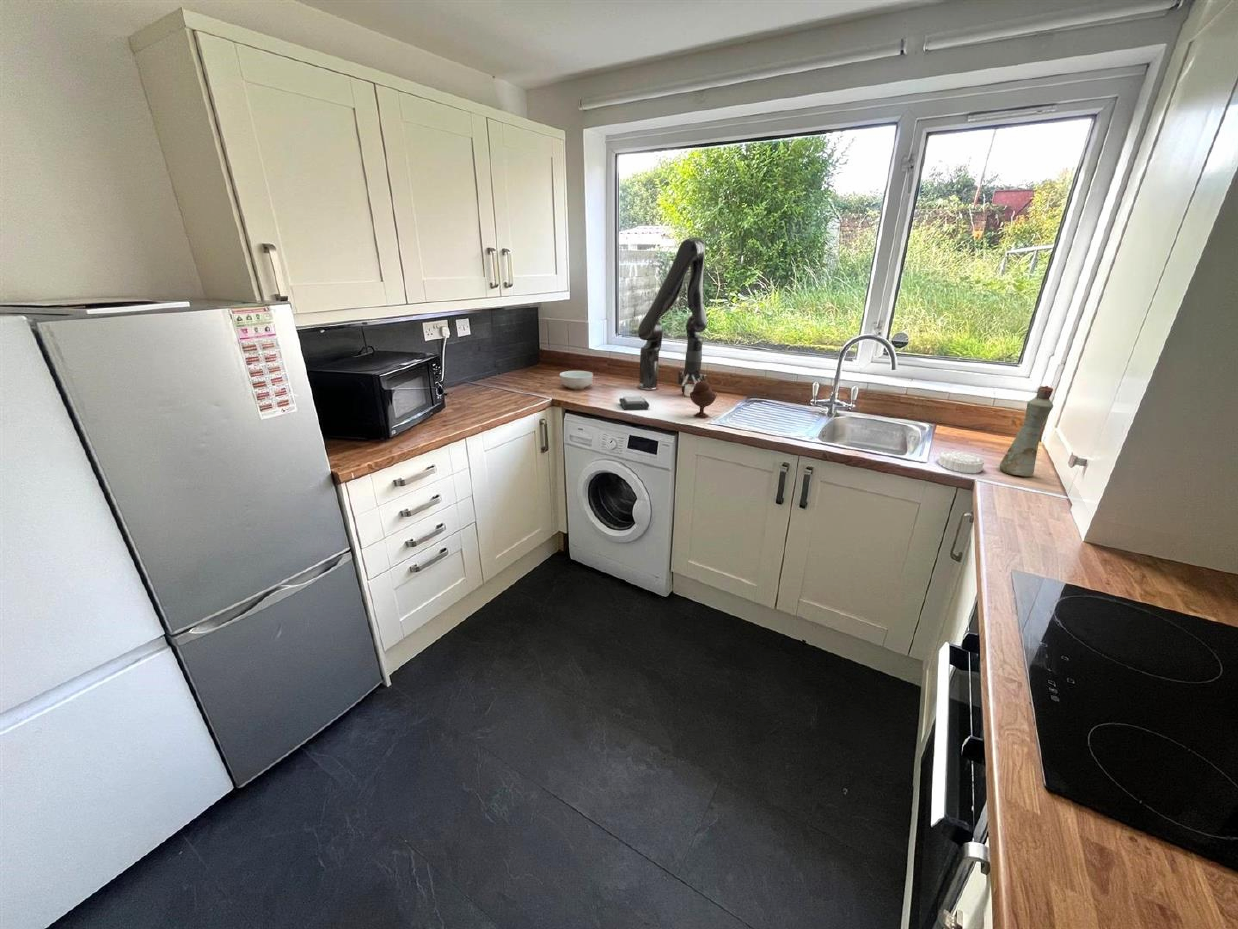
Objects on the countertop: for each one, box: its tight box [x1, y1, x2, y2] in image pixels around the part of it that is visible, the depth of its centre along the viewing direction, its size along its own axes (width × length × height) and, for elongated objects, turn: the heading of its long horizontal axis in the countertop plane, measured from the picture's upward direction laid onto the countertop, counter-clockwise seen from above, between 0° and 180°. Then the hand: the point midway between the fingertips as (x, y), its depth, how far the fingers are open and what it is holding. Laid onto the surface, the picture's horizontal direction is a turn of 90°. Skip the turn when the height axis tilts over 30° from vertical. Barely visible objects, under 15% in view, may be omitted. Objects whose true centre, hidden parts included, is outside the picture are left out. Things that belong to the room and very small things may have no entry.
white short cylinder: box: [683, 383, 695, 398], centre depth 240 cm, size 6×6×5 cm
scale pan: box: [623, 396, 646, 404], centre depth 217 cm, size 8×8×2 cm
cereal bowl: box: [559, 370, 594, 390], centre depth 247 cm, size 17×17×7 cm
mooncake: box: [937, 450, 985, 474], centre depth 160 cm, size 12×12×4 cm
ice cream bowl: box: [689, 380, 718, 419], centre depth 204 cm, size 11×11×15 cm
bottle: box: [998, 385, 1054, 478], centre depth 152 cm, size 9×9×28 cm
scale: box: [619, 397, 650, 411], centre depth 218 cm, size 11×11×2 cm
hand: (690, 394), depth 240 cm, fingers closed on white short cylinder, 6 cm apart
